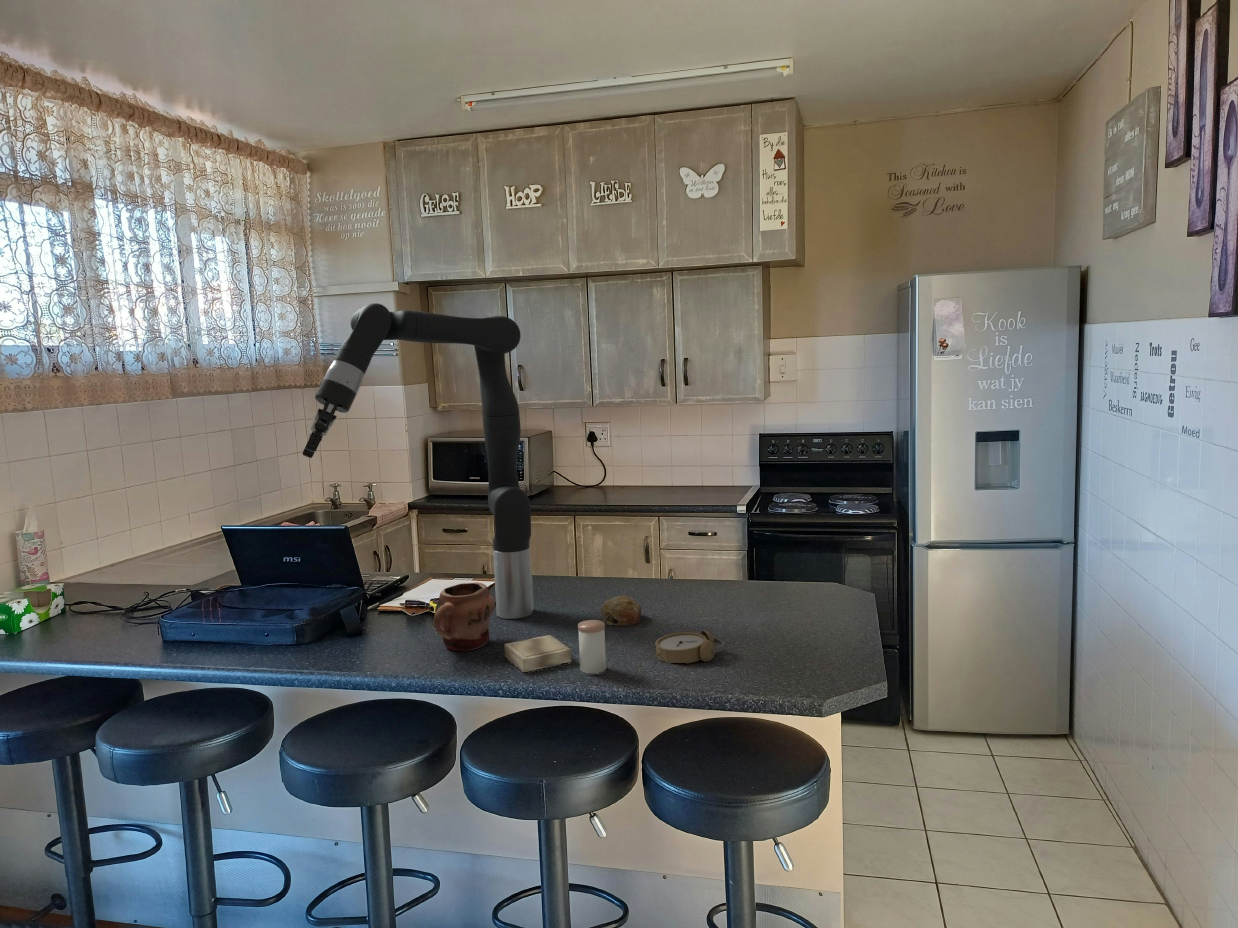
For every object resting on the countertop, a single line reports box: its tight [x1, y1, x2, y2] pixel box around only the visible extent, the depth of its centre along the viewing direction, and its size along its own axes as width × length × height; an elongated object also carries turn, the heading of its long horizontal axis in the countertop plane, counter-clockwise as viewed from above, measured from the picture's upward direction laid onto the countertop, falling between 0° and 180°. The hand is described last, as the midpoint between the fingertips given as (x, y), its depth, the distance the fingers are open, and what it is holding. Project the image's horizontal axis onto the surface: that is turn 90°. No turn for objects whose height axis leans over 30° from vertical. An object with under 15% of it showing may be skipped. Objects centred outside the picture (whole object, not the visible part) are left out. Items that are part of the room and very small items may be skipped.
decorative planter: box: [433, 581, 496, 652], centre depth 191 cm, size 20×12×14 cm, turn 161°
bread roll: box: [601, 594, 642, 627], centre depth 207 cm, size 10×10×8 cm
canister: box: [577, 619, 607, 673], centre depth 175 cm, size 6×6×10 cm
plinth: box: [504, 634, 572, 673], centre depth 182 cm, size 11×11×3 cm
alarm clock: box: [654, 630, 725, 664], centre depth 182 cm, size 11×5×15 cm
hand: (308, 453), depth 177 cm, fingers open, 8 cm apart
